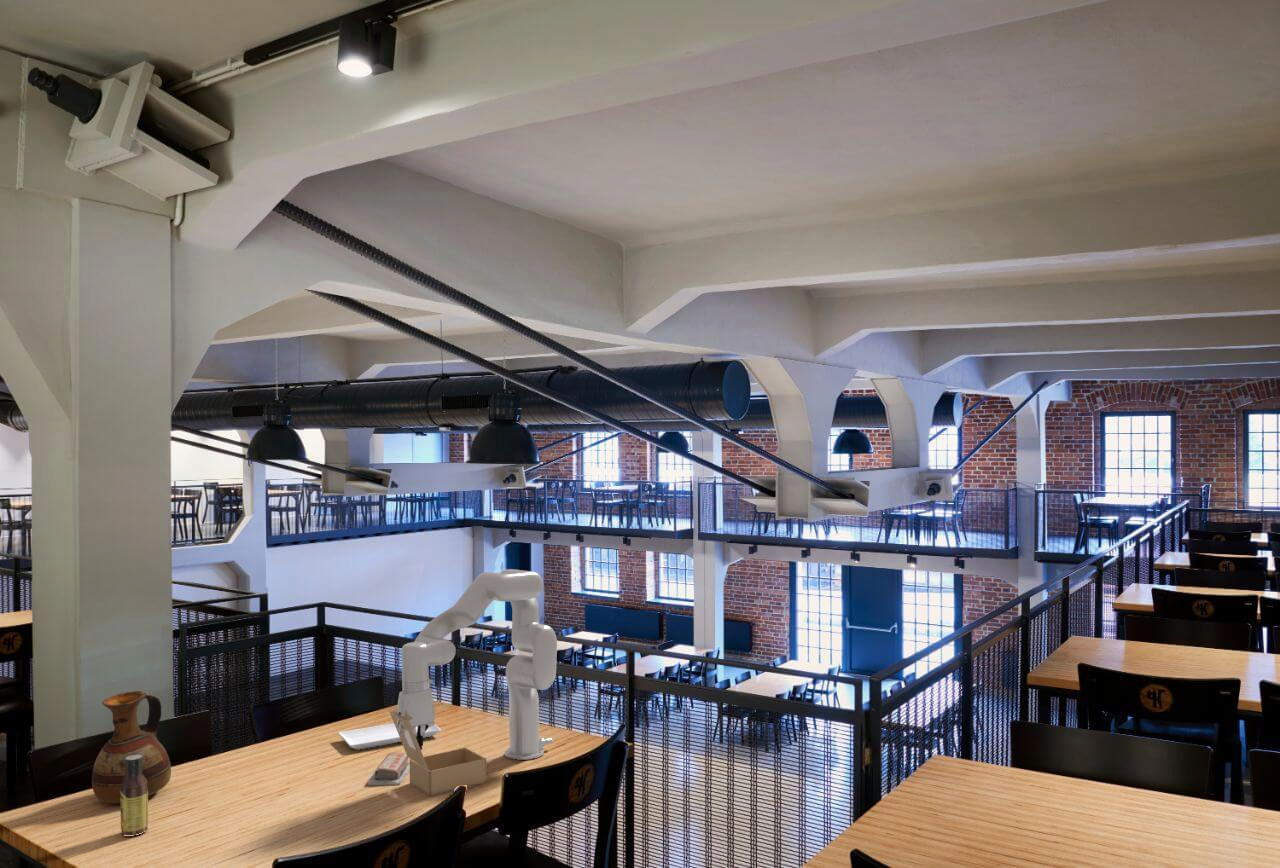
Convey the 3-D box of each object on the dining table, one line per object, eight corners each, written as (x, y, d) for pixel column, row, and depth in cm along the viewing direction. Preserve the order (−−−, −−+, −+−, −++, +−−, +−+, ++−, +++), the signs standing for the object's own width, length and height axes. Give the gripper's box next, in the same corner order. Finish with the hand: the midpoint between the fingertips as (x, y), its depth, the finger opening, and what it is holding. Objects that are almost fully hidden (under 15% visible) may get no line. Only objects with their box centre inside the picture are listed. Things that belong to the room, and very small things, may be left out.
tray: (442, 738, 320) (442, 728, 320) (349, 755, 304) (349, 744, 304) (426, 727, 335) (426, 717, 335) (337, 742, 318) (336, 732, 318)
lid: (394, 707, 273) (388, 711, 272) (413, 717, 262) (407, 721, 261) (413, 753, 276) (407, 757, 275) (432, 765, 265) (426, 769, 264)
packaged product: (382, 751, 292) (414, 750, 292) (382, 766, 292) (414, 766, 292) (366, 770, 274) (400, 769, 274) (366, 787, 274) (400, 786, 274)
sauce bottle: (127, 829, 244) (127, 752, 244) (152, 827, 244) (152, 751, 245) (115, 839, 237) (115, 760, 238) (141, 838, 238) (141, 759, 238)
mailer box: (465, 770, 286) (465, 747, 286) (486, 782, 275) (486, 758, 275) (409, 783, 276) (409, 759, 276) (429, 796, 264) (429, 771, 264)
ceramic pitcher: (75, 804, 262) (75, 697, 263) (136, 781, 281) (136, 681, 282) (127, 812, 255) (127, 703, 256) (186, 788, 274) (186, 685, 275)
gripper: (434, 679, 278) (435, 740, 277) (386, 688, 269) (387, 751, 268) (445, 683, 272) (446, 746, 271) (396, 693, 263) (397, 758, 262)
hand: (417, 749), depth 270 cm, fingers closed
